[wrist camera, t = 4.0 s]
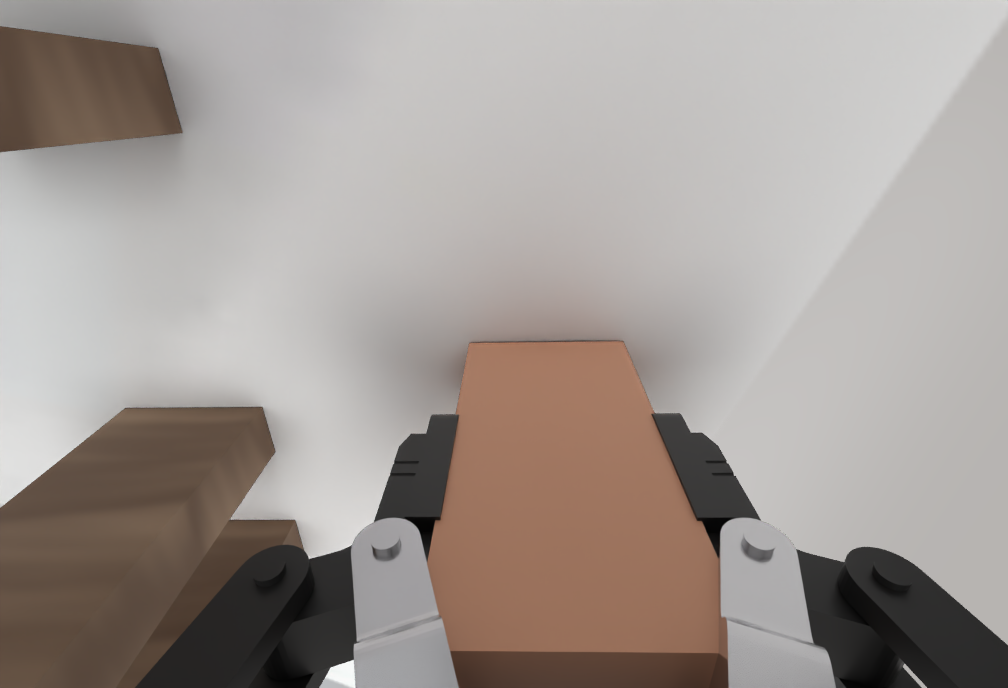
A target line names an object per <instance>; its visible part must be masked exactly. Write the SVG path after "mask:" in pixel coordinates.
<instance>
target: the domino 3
mask: <svg viewBox="0 0 1008 688" xmlns="http://www.w3.org/2000/svg"><path fill="white" fill-rule="evenodd" d="M277 545H294V546H297V547H299V548H301V549H303V546H302V542H301V539H300V535H299V532H298V528H297V525H296V522H295V520H229V521H228V522H227V524H226V525H225V527H224V528H223V530H222V531H221V533H220V534H219V536H218V537H217V539H216V540H215V542H214V543H213V545H212V546H211V548H210V549H209V550H208V552H207V553H206V555H205V556H204V558H203V559H202V561H201V562H200V564H199V565H198V567H197V568H196V570H195V571H194V573H193V574H192V576H191V577H190V579H189V580H188V582H187V583H186V584H185V586H184V587H183V589H182V590H181V592H180V593H179V595H178V596H177V598H176V599H175V601H174V602H173V604H172V605H171V607H170V608H169V610H168V611H167V613H166V614H165V616H164V617H163V618H162V620H161V621H160V623H159V624H158V626H157V627H156V629H155V630H154V632H153V633H152V635H151V636H150V638H149V639H148V641H147V642H146V644H145V645H144V647H143V648H142V650H141V651H140V652H139V654H138V655H137V657H136V658H135V660H134V661H133V663H132V664H131V666H130V667H129V669H128V670H127V672H126V673H125V675H124V676H123V678H122V679H121V681H120V682H119V684H118V685H117V686H116V688H135V687H136V686H137V685H138V683H139V682H140V681H141V680H142V679H143V678H144V677H145V675H146V674H147V673H148V672H149V671H150V670H151V669H152V667H153V666H154V665H155V664H156V663H157V662H158V661H159V659H160V658H161V657H162V656H163V655H164V654H165V653H166V651H167V650H168V649H169V648H170V647H171V646H172V644H173V643H174V642H175V641H176V640H177V639H178V638H179V636H180V635H181V634H182V633H183V632H184V631H185V630H186V628H187V627H188V626H189V625H190V624H191V623H192V622H193V620H194V619H195V618H196V617H197V616H198V615H199V614H200V612H201V611H202V610H203V609H204V608H205V607H206V606H207V604H208V603H209V602H210V601H211V600H212V599H213V598H214V596H215V595H216V594H217V593H218V592H219V591H220V589H221V588H222V587H223V586H224V585H225V584H226V583H227V581H228V580H229V579H230V578H231V577H232V576H233V575H234V573H235V572H236V571H237V570H238V569H239V568H240V567H241V566H242V565H243V564H244V563H245V562H246V561H247V560H248V559H249V558H250V557H252V556H253V555H255V554H256V553H258V552H260V551H262V550H264V549H267V548H269V547H273V546H277ZM303 550H304V549H303Z"/></svg>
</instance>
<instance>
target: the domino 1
mask: <svg viewBox="0 0 1008 688" xmlns="http://www.w3.org/2000/svg"><path fill="white" fill-rule="evenodd" d="M178 133H182V130H181V126H180V123H179V119H178V116H177V112H176V109H175V106H174V102H173V99H172V95H171V92H170V88H169V85H168V81H167V78H166V75H165V71H164V68H163V64H162V61H161V57H160V54H159V51H158V48H153V47H145V46H138V45H131V44H124V43H117V42H110V41H102V40H95V39H88V38H81V37H74V36H67V35H59V34H52V33H45V32H38V31H31V30H24V29H16V28H9V27H2V26H0V152H6V151H15V150H25V149H34V148H44V147H53V146H63V145H73V144H82V143H92V142H101V141H111V140H121V139H130V138H140V137H149V136H159V135H168V134H178Z"/></svg>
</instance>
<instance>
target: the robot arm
mask: <svg viewBox="0 0 1008 688" xmlns="http://www.w3.org/2000/svg"><path fill="white" fill-rule="evenodd" d="M651 415H652V417H653V419H654V422H655V424H656V426H657V429H658V431H659V433H660V436H661V438H662V440H663V443H664V445H665V447H666V450H667V452H668V454H669V457H670V459H671V461H672V464H673V466H674V469H675V471H676V473H677V476H678V478H679V480H680V483H681V485H682V487H683V490H684V492H685V494H686V497H687V499H688V501H689V504H690V506H691V508H692V511H693V513H694V515H695V518H696V520H697V521H702V523H703V525H704V527H705V529H706V532H707V534H708V536H709V539H710V541H711V543H712V545H713V548H714V550H715V552H716V555H717V557H718V596H719V653H718V657H717V661H716V664H715V668H714V671H713V675H712V678H711V682H710V685H709V688H921V687H920V686H919V684H918V683H917V682H916V681H915V680H914V679H913V678H912V677H911V676H910V675H909V674H908V673H907V671H906V670H905V669H904V668H903V665H904V663H905V664H906V665H907V666H908V667H909V668H910V669H911V671H912V672H913V673H914V674H915V675H916V676H917V677H918V678H919V679H920V680H921V681H922V682H923V683H924V684H925V686H926V687H927V688H1008V645H1007V644H1006V643H1005V642H1003V641H1002V640H1001V639H1000V638H999V637H998V636H996V635H995V634H994V633H993V632H992V631H991V630H990V629H988V628H987V627H986V626H985V625H984V624H983V623H982V622H980V621H979V620H978V619H977V618H976V617H975V616H973V615H972V614H971V613H970V612H969V611H968V610H967V609H965V608H964V607H963V606H962V605H961V604H960V603H959V602H957V601H956V600H955V599H954V598H953V597H951V596H950V595H949V594H948V593H947V592H946V591H945V590H944V589H942V588H941V587H940V586H939V585H938V584H937V583H936V582H934V581H933V580H932V579H931V578H930V577H929V576H927V575H926V574H925V573H924V572H923V571H922V570H920V569H919V568H918V567H917V566H915V565H914V564H913V563H911V562H909V561H908V560H906V559H904V558H903V557H901V556H899V555H896V554H894V553H892V552H889V551H886V550H883V549H879V548H873V547H861V548H856V549H854V550H852V551H850V552H849V554H848V555H847V557H846V559H845V562H840V561H837V560H833V559H829V558H825V557H820V556H817V555H813V554H809V553H805V552H802V551H800V550H797V549H796V548H795V546H794V544H793V543H792V542H791V540H790V539H789V538H788V537H787V536H786V535H785V534H784V533H782V532H781V531H780V530H779V529H777V528H775V527H774V526H772V525H770V524H768V523H766V522H763V521H761V520H760V518H759V516H758V514H757V513H756V511H755V509H754V507H753V506H752V504H751V502H750V501H749V499H748V497H747V495H746V493H745V492H744V490H743V488H742V487H741V485H740V484H739V481H738V480H737V478H736V476H734V474H733V471H732V469H731V468H730V466H729V464H727V463H726V459H725V457H724V456H723V454H722V452H721V450H720V449H719V447H718V445H716V444H715V443H714V442H713V441H712V440H710V439H709V438H708V437H707V436H705V435H704V434H703V433H691V432H690V430H689V429H688V427H687V425H686V423H685V421H684V419H683V417H682V415H681V414H679V413H665V414H651ZM458 419H459V414H445V415H431V418H430V422H429V426H428V429H427V433H426V434H411V435H410V436H409V437H408V438H407V439H406V440H405V441H404V442H403V443H402V444H401V445H400V446H399V449H398V452H397V455H396V458H395V461H394V464H393V467H392V470H391V473H390V476H389V479H388V482H387V485H386V488H385V491H384V493H383V496H382V499H381V502H380V505H379V508H378V511H377V514H376V517H375V520H374V523H372V524H370V525H368V526H367V527H365V528H364V529H363V530H362V531H361V532H360V533H359V534H358V535H357V537H356V538H355V540H354V542H353V544H352V546H350V547H348V548H346V549H343V550H341V551H338V552H334V553H331V554H327V555H323V556H319V557H316V558H312V559H308V556H307V554H306V552H305V551H304V550H303V549H301V548H299V547H297V546H294V545H277V546H273V547H269V548H267V549H264V550H262V551H260V552H258V553H256V554H255V555H253V556H252V557H250V558H249V559H248V560H247V561H246V562H245V563H244V564H243V565H242V566H241V567H240V568H239V569H238V570H237V571H236V572H235V573H234V575H233V576H232V577H231V578H230V579H229V580H228V581H227V583H226V584H225V585H224V586H223V587H222V588H221V589H220V591H219V592H218V593H217V594H216V595H215V596H214V598H213V599H212V600H211V601H210V602H209V603H208V604H207V606H206V607H205V608H204V609H203V610H202V611H201V612H200V614H199V615H198V616H197V617H196V618H195V619H194V620H193V622H192V623H191V624H190V625H189V626H188V627H187V628H186V630H185V631H184V632H183V633H182V634H181V635H180V636H179V638H178V639H177V640H176V641H175V642H174V643H173V644H172V646H171V647H170V648H169V649H168V650H167V651H166V653H165V654H164V655H163V656H162V657H161V658H160V659H159V661H158V662H157V663H156V664H155V665H154V666H153V667H152V669H151V670H150V671H149V672H148V673H147V674H146V675H145V677H144V678H143V679H142V680H141V681H140V682H139V683H138V685H137V686H136V687H135V688H319V686H320V685H321V684H322V682H323V680H324V678H325V676H326V675H327V673H328V671H329V669H330V667H333V666H336V665H339V664H342V663H345V662H348V661H351V660H354V669H355V685H356V688H459V687H458V683H457V679H456V674H455V670H454V666H453V662H452V658H451V653H450V649H449V645H448V641H447V636H446V632H445V628H444V624H443V621H442V617H441V615H439V612H438V609H437V604H436V600H435V596H434V591H433V587H432V583H431V578H430V574H429V570H428V566H427V561H428V556H429V551H430V545H431V540H432V535H433V530H434V525H435V520H440V519H441V514H442V508H443V502H444V497H445V491H446V486H447V480H448V475H449V469H450V463H451V458H452V452H453V447H454V441H455V435H456V430H457V424H458Z"/></svg>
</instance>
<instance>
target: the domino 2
mask: <svg viewBox="0 0 1008 688" xmlns="http://www.w3.org/2000/svg"><path fill="white" fill-rule="evenodd" d="M274 453H275V449H274V446H273V442H272V439H271V436H270V432H269V429H268V425H267V422H266V418H265V415H264V412H263V408H262V407H226V408H125V409H124V410H122V411H121V412H120V413H119V414H117V415H116V416H115V417H114V418H112V419H111V420H110V421H109V422H107V423H106V424H105V425H104V426H102V427H101V428H100V429H99V430H97V431H96V432H95V433H94V434H92V435H91V436H90V437H89V438H87V439H86V440H85V441H84V442H82V443H81V444H80V445H79V446H77V447H76V448H75V449H74V450H72V451H71V452H70V453H69V454H67V455H66V456H65V457H64V458H62V459H61V460H60V461H59V462H57V463H56V464H55V465H53V466H52V467H51V468H50V469H48V470H47V471H46V472H45V473H43V474H42V475H41V476H40V477H38V478H37V479H36V480H35V481H33V482H32V483H31V484H30V485H28V486H27V487H26V488H25V489H23V490H22V491H21V492H20V493H18V494H17V495H16V496H15V497H13V498H12V499H11V500H10V501H8V502H7V503H6V504H5V505H3V506H2V507H1V508H0V688H116V686H117V685H118V684H119V682H120V681H121V679H122V678H123V676H124V675H125V673H126V672H127V670H128V669H129V667H130V666H131V664H132V663H133V661H134V660H135V658H136V657H137V655H138V654H139V652H140V651H141V650H142V648H143V647H144V645H145V644H146V642H147V641H148V639H149V638H150V636H151V635H152V633H153V632H154V630H155V629H156V627H157V626H158V624H159V623H160V621H161V620H162V618H163V617H164V616H165V614H166V613H167V611H168V610H169V608H170V607H171V605H172V604H173V602H174V601H175V599H176V598H177V596H178V595H179V593H180V592H181V590H182V589H183V587H184V586H185V584H186V583H187V582H188V580H189V579H190V577H191V576H192V574H193V573H194V571H195V570H196V568H197V567H198V565H199V564H200V562H201V561H202V559H203V558H204V556H205V555H206V553H207V552H208V550H209V549H210V548H211V546H212V545H213V543H214V542H215V540H216V539H217V537H218V536H219V534H220V533H221V531H222V530H223V528H224V527H225V525H226V524H227V522H228V521H229V519H230V518H231V516H232V515H233V514H234V512H235V511H236V509H237V508H238V506H239V505H240V503H241V502H242V500H243V499H244V497H245V496H246V494H247V493H248V491H249V490H250V488H251V487H252V485H253V484H254V482H255V481H256V479H257V478H258V477H259V475H260V474H261V472H262V471H263V469H264V468H265V466H266V465H267V463H268V462H269V460H270V459H271V457H272V456H273V454H274Z"/></svg>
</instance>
